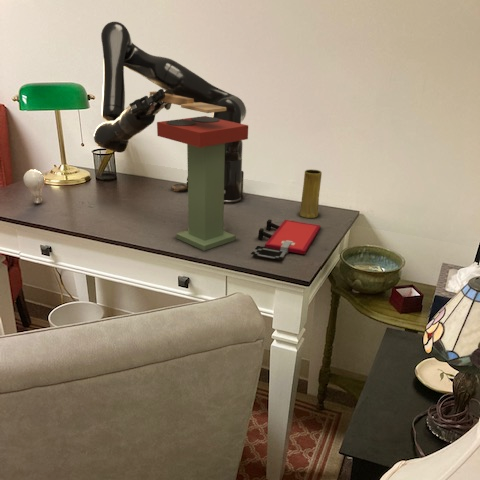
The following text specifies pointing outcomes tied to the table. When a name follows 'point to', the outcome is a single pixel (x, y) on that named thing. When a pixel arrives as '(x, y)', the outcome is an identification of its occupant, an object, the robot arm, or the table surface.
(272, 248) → the red board with handle
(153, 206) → the table surface
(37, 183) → the lightbulb
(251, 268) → the table surface
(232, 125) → the pedestal side table
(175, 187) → the compass
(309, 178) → the vase
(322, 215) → the table surface
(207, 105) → the spatula
